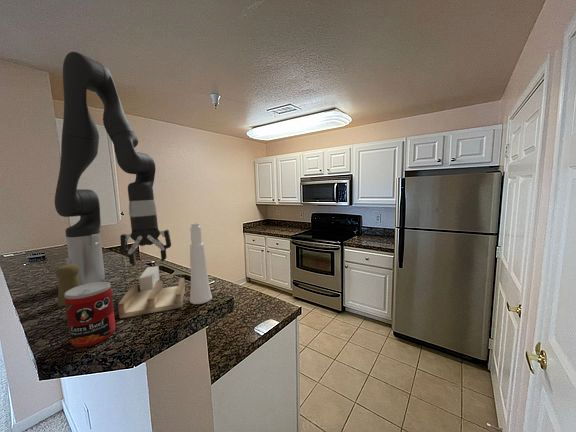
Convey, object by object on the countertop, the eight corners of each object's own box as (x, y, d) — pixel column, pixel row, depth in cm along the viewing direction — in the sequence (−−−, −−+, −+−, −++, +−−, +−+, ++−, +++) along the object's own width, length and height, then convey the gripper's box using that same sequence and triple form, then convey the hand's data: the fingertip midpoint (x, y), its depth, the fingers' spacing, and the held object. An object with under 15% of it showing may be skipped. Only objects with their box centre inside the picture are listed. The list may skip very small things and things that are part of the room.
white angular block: (140, 293, 76) (139, 278, 76) (148, 280, 88) (147, 267, 87) (153, 291, 78) (151, 276, 77) (159, 279, 89) (158, 266, 88)
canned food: (64, 352, 48) (56, 299, 47) (79, 331, 55) (73, 285, 54) (110, 341, 51) (104, 291, 50) (119, 323, 58) (114, 279, 57)
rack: (119, 318, 61) (118, 304, 60) (133, 296, 74) (132, 284, 74) (182, 307, 66) (180, 294, 65) (185, 288, 79) (184, 277, 78)
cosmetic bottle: (201, 293, 74) (196, 221, 72) (216, 297, 71) (211, 222, 69) (185, 302, 69) (178, 224, 67) (200, 306, 66) (193, 225, 64)
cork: (83, 295, 76) (79, 261, 75) (86, 301, 72) (81, 264, 71) (57, 302, 72) (52, 265, 71) (58, 308, 68) (52, 269, 67)
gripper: (168, 212, 86) (173, 257, 87) (121, 215, 81) (127, 263, 83) (165, 213, 79) (171, 262, 80) (113, 217, 74) (120, 269, 76)
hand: (148, 262), depth 81 cm, fingers open, 8 cm apart
